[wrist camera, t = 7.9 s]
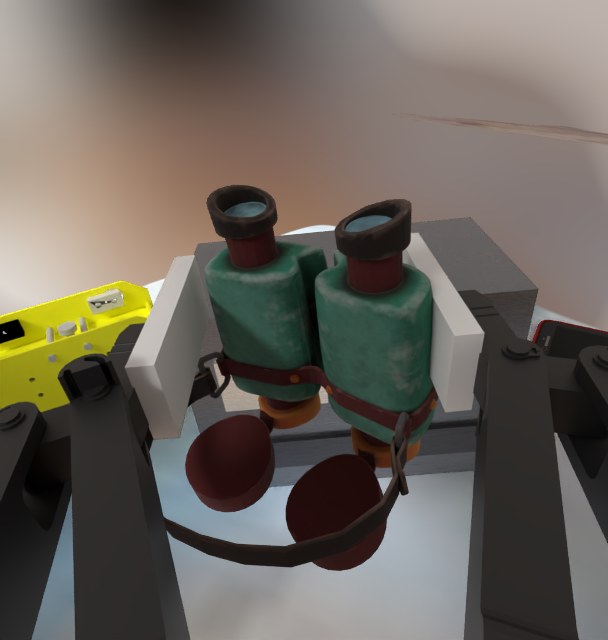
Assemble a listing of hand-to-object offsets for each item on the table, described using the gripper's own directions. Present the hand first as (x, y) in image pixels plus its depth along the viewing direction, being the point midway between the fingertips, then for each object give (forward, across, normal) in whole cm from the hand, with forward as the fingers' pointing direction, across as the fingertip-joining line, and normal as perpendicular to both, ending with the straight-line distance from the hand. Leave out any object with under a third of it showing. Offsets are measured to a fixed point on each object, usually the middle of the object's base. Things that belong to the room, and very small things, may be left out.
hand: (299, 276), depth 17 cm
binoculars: (-5, -1, -7) cm, 8 cm away
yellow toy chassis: (+16, -21, -18) cm, 32 cm away
